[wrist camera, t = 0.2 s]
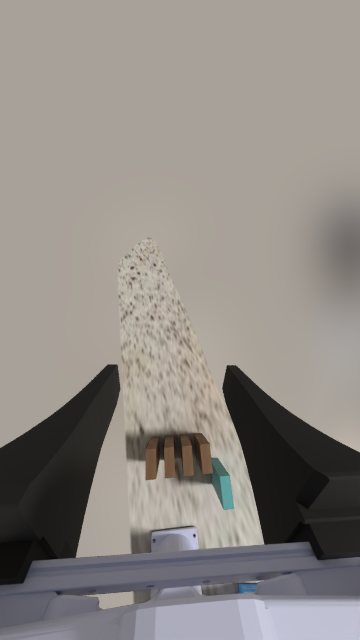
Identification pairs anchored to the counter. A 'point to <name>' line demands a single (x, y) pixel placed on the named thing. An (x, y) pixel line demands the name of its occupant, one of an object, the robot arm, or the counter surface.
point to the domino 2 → (169, 457)
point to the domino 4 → (203, 454)
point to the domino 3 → (186, 455)
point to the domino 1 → (152, 458)
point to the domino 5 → (222, 484)
